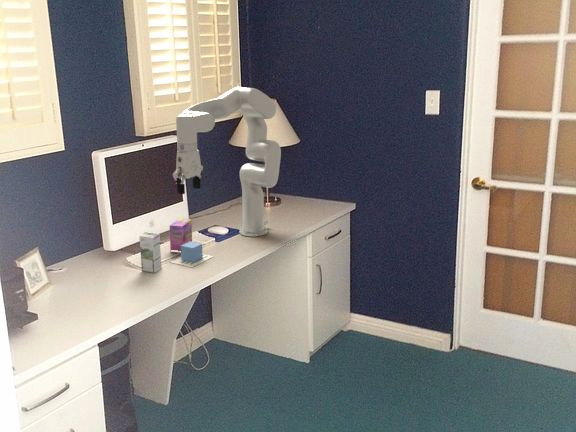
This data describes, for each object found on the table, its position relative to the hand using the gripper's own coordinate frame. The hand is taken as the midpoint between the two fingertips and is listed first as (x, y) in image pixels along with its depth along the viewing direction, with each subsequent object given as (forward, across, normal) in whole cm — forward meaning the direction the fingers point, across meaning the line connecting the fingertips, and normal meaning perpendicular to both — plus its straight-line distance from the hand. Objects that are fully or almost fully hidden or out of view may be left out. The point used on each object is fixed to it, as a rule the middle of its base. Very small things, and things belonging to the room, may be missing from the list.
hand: (189, 190), depth 260 cm
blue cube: (+28, 0, 0) cm, 28 cm away
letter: (+28, 0, 0) cm, 28 cm away
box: (+28, +8, +12) cm, 32 cm away
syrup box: (+28, -17, +6) cm, 34 cm away
